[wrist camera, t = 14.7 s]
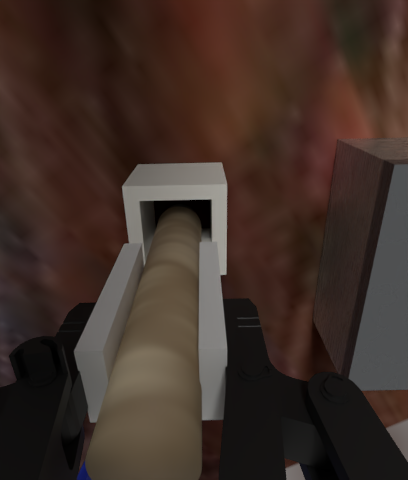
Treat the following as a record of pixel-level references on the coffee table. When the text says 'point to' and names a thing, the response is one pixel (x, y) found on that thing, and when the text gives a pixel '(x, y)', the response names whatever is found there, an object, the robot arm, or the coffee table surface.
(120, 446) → the peg
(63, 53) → the coffee table surface
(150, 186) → the hollow square box
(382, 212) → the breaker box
